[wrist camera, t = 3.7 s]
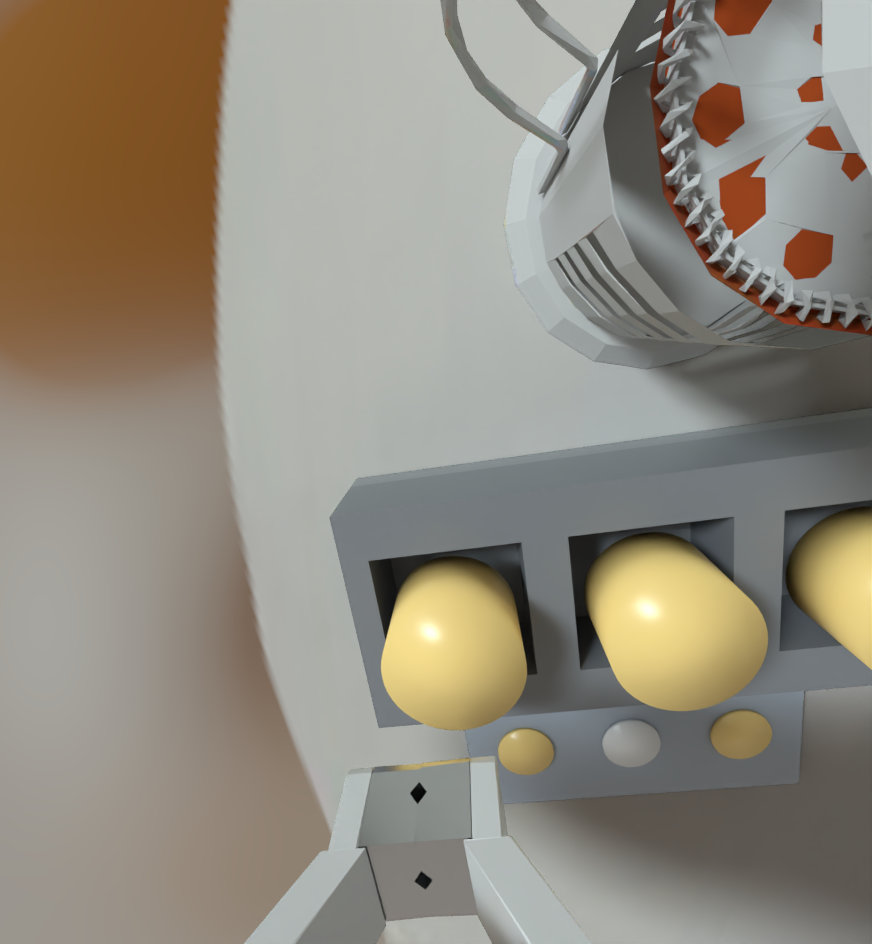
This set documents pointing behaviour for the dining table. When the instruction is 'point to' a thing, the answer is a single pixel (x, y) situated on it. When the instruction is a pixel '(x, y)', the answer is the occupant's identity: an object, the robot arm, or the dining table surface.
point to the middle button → (673, 623)
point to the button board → (562, 593)
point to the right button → (837, 578)
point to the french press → (697, 180)
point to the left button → (454, 645)
